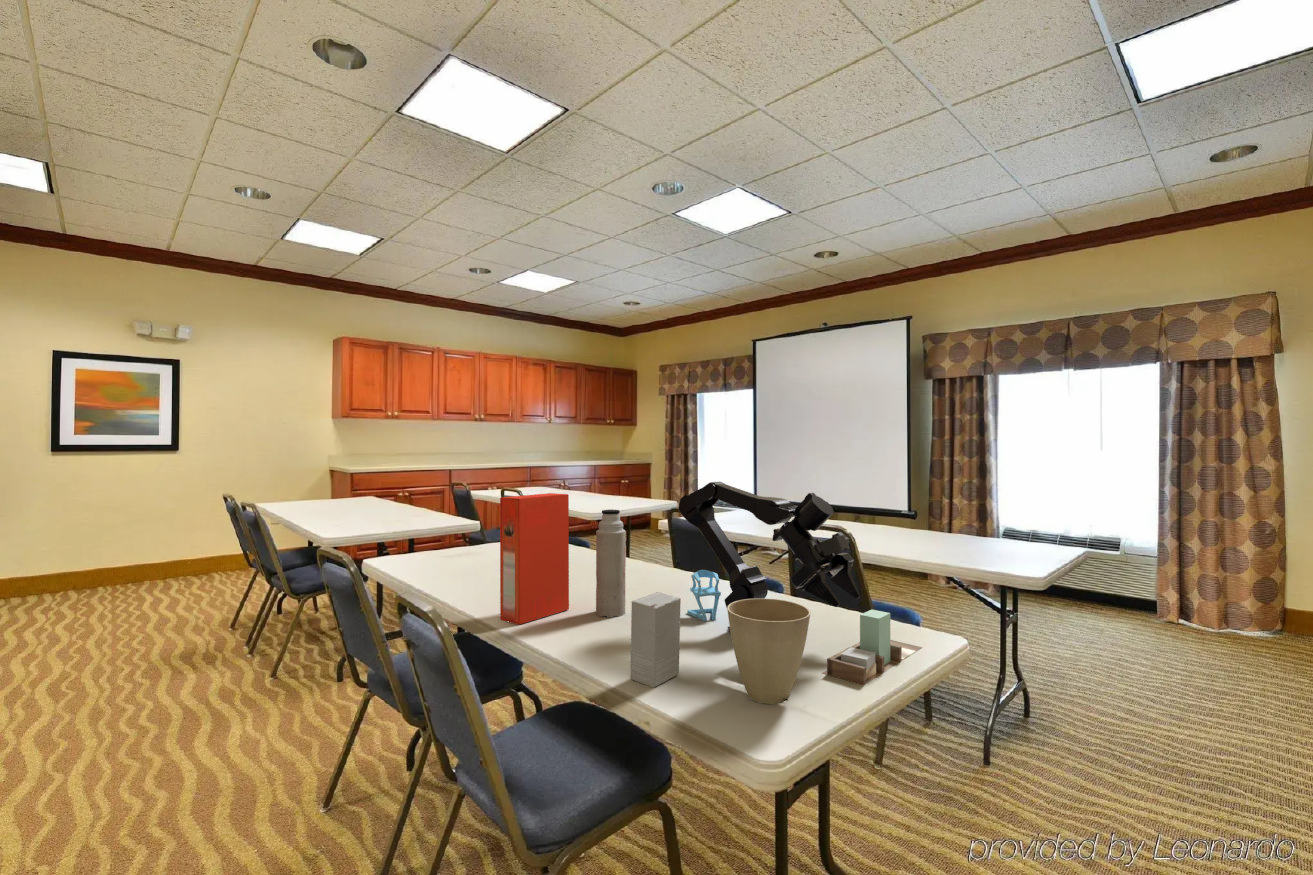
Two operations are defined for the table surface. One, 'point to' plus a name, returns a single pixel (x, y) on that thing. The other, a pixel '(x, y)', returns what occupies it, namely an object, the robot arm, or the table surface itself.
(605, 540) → the thermos bottle
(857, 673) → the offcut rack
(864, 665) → the grey offcut slab
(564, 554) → the file binder
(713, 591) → the chair
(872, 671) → the birch offcut slab
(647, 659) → the skincare box
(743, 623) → the plant pot
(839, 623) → the table surface
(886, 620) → the mint green block
